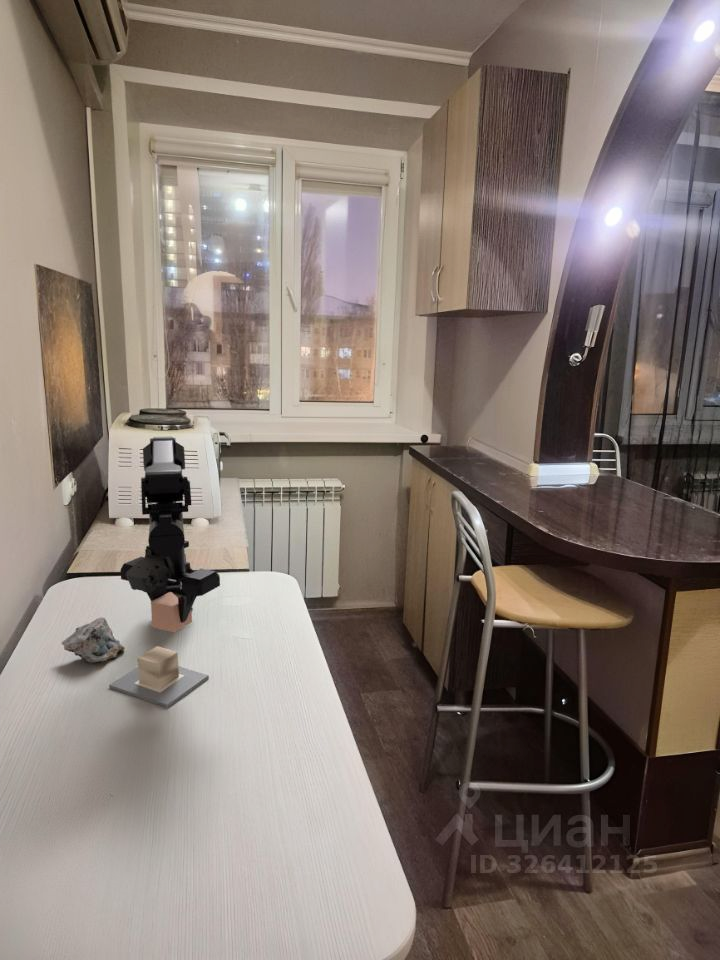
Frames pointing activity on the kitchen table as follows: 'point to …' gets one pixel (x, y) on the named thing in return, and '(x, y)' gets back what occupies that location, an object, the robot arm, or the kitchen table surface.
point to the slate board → (166, 693)
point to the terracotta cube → (167, 613)
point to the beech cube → (158, 667)
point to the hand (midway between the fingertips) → (172, 618)
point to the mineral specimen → (93, 642)
